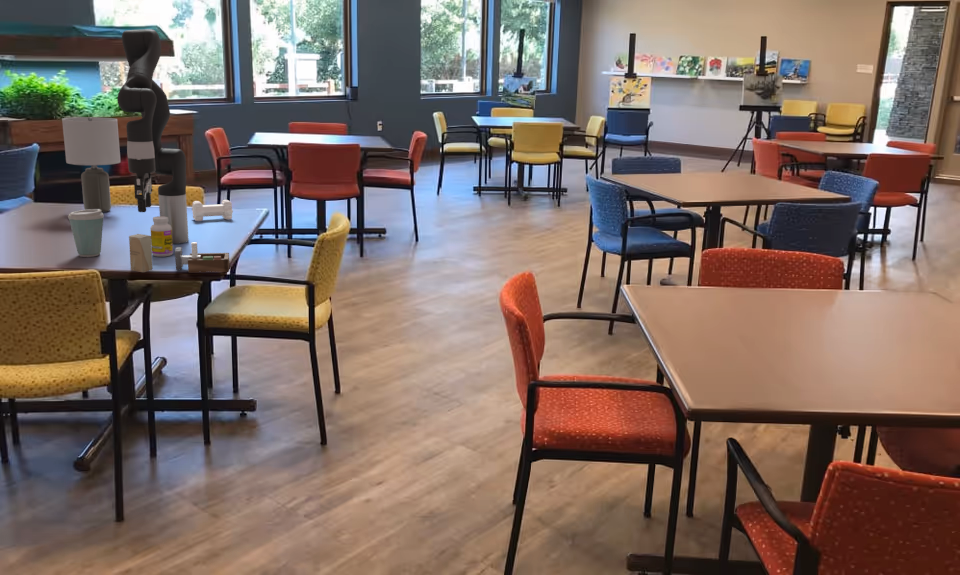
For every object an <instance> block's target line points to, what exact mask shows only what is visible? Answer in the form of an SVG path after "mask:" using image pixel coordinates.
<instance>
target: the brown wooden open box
mask: <svg viewBox="0 0 960 575" xmlns="http://www.w3.org/2000/svg"><path fill="white" fill-rule="evenodd" d="M189 255H192V252H191V253H189ZM198 255H201V259H188V264H187V269H188V270H187V272H188V273H189V274H193V273H197V274H198V273H229V272H230V252H202V253H201V252H199V253H198Z"/></svg>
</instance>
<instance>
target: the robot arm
mask: <svg viewBox="0 0 960 575" xmlns="http://www.w3.org/2000/svg"><path fill="white" fill-rule="evenodd" d="M160 38H161V37H160V35H159V33H158V32H157V31H156V30H154V29H147V28H146V29H131V30H130V29H129V30H124V31H123V32H122V35H121V42H122V43H121V44H122V47H123V51H124V54H125V57H126V61H127V64H128V67H129V69H128V71H127V76H126V77H127V78H126V80H125V83H124V84H123V85H122V86H121V88H120V89H119V91H118V94H117V100H116V101H117V105H118V106H119V108H120V110H122V112H123V111H124V112H125V113H140V115H141V118H140V119H135V120H130V121H128V122H127V123H126V125H125V126H126V128H125V129H126V139H127V145H126V150H127V151H126V152H127V166H128V172H129V173H131V174H136V178H133V185H134V199H136V201H137V202H136V203H137V212H138V213H146V212H147V208H151V207H152V196H151V195H152V193H153V184H152V173H155V174H157V175H161V176H162V175H163V176H164V175H165V176H172V180H170V181H169V182H167V183H163V184H161V185H159V186H158V187H157V192H158V194H157V195H158V206H159V208H158V209H159V216H165V217H168V224H169V225H170V226H171V227H172V242H173V245H174V244H183V243H188V242H189V241H190V240H189V226H188V221H189V220H188V210H187V209H188V207H187V206H188V205H187V190H186V188H187V158H186V155H185V152H184V151H183V149H179V148H164V147H163V145H162V135H163V132H164V130H165V127H166V126H167V124H168V122H169V119H170V115H171V111H170V106H169V102H168V101H169V100H168V98H167V94H166V93H165V91H164V90H163V89H162V87H161V86H160V85H158V83H156V81H155V80H153V76H154V72H155V71H156V68H157V65H158V63H159V61H160V58H161V54H162V43H161V39H160Z"/></svg>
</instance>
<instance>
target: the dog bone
mask: <svg viewBox="0 0 960 575" xmlns="http://www.w3.org/2000/svg"><path fill="white" fill-rule="evenodd" d="M191 204H192V208H191V211H192V218H193V219H194V220H195V221H196V222H202V221H203V220H204V217H218V216H220V217H222V218H223V219H224V220H231V219H232V218H233V212H234V210H233V204H232V201H230V200H228V199H223V200H222V201H221V203H220V204H203V203H202V202H201V201H199V200H194V201H193V202H192V203H191Z"/></svg>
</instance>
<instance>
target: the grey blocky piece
mask: <svg viewBox="0 0 960 575" xmlns="http://www.w3.org/2000/svg"><path fill="white" fill-rule="evenodd" d="M190 244H191V246H190V248H191V253H192V255H190V254H189V255H187V254H186V255H183V247H181V246H176V247H175V250H174V260H175V271H182V269H183V267H184V266H183V265H185V266H186V265H187V266H188V259H201V255H198V242H194V241H193V242H191V243H190Z"/></svg>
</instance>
